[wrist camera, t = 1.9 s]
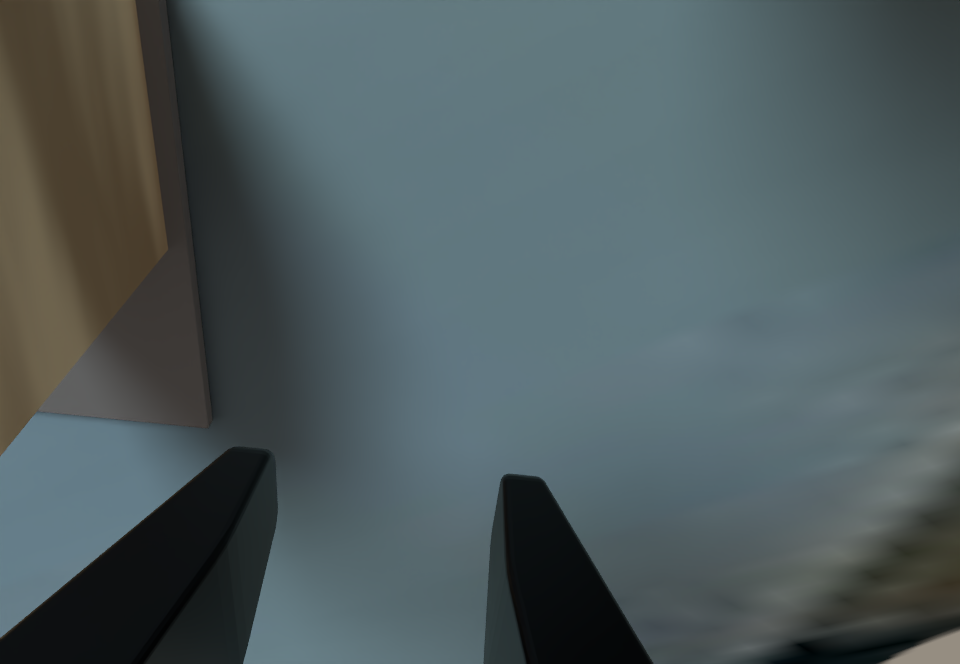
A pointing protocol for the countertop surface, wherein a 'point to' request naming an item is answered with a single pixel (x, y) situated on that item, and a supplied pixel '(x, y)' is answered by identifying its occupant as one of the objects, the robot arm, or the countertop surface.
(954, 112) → the countertop surface
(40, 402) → the maple block
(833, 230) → the countertop surface
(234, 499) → the robot arm
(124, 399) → the mat
